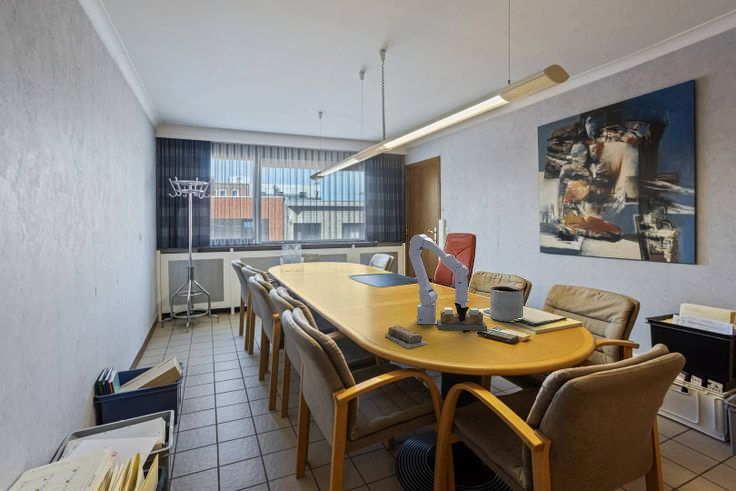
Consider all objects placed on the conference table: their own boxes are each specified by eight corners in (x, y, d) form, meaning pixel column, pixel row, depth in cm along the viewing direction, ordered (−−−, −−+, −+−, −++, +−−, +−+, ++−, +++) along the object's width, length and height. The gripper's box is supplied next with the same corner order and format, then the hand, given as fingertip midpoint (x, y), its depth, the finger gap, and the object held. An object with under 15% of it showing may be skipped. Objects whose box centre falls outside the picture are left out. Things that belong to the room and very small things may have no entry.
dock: (438, 329, 172) (438, 324, 172) (436, 323, 182) (436, 319, 181) (487, 330, 169) (487, 326, 169) (482, 324, 179) (482, 320, 179)
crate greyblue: (470, 316, 173) (470, 309, 172) (469, 314, 177) (469, 308, 176) (478, 316, 172) (478, 310, 172) (477, 314, 176) (477, 308, 176)
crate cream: (445, 315, 174) (445, 309, 174) (444, 313, 178) (444, 307, 178) (452, 315, 174) (452, 309, 173) (451, 313, 178) (451, 307, 177)
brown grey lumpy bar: (441, 323, 174) (441, 313, 173) (440, 320, 179) (440, 310, 179) (482, 324, 172) (482, 314, 171) (480, 321, 177) (480, 311, 177)
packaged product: (384, 326, 162) (402, 323, 166) (384, 337, 162) (402, 334, 167) (408, 338, 146) (427, 334, 151) (408, 349, 146) (427, 345, 151)
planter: (498, 313, 200) (498, 284, 199) (528, 318, 189) (528, 288, 188) (484, 318, 189) (484, 288, 188) (514, 325, 178) (515, 293, 177)
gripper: (472, 294, 167) (472, 323, 168) (467, 288, 181) (467, 315, 182) (456, 293, 167) (456, 323, 168) (452, 288, 182) (452, 315, 183)
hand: (461, 319), depth 175 cm, fingers closed on brown grey lumpy bar, 5 cm apart
